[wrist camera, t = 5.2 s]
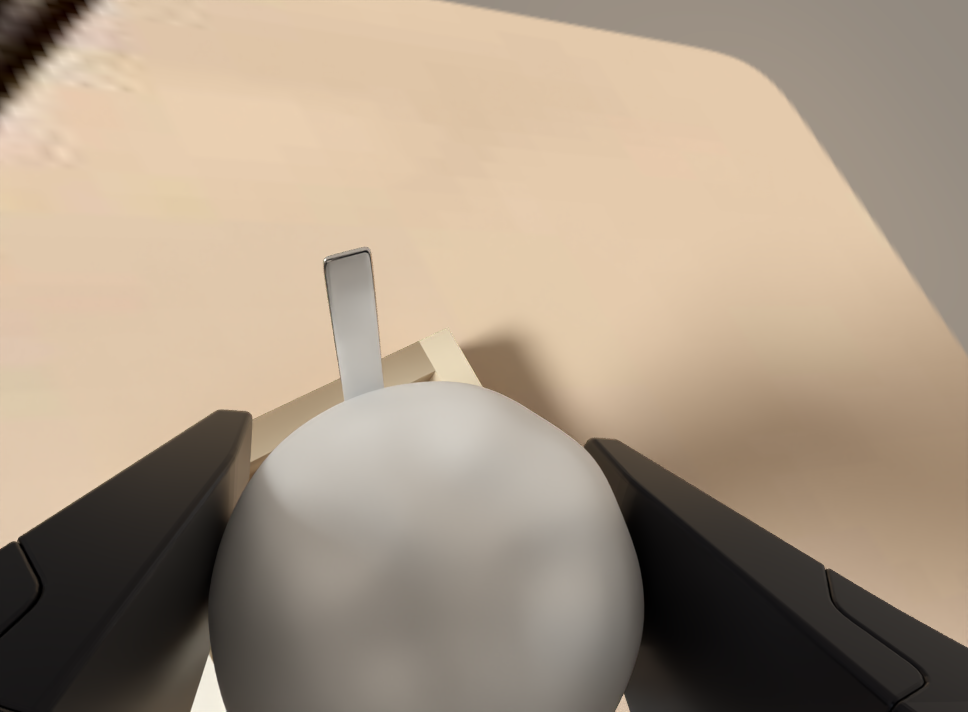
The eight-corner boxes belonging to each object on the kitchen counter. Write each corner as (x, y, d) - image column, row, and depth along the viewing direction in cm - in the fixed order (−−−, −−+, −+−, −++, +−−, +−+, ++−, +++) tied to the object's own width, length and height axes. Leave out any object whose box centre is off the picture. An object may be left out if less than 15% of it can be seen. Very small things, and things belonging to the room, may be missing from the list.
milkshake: (423, 430, 16) (564, 194, 7) (513, 659, 15) (825, 737, 6) (224, 500, 15) (74, 319, 6) (304, 762, 13) (283, 1085, 4)
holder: (575, 603, 21) (608, 604, 19) (304, 793, 18) (304, 820, 16) (433, 354, 23) (448, 327, 21) (158, 487, 20) (139, 472, 17)
